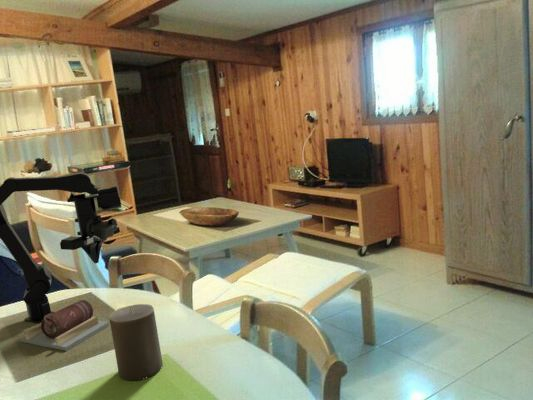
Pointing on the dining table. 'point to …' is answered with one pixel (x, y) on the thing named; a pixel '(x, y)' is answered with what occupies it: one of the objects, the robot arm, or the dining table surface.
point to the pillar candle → (136, 341)
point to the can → (66, 318)
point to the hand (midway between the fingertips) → (96, 263)
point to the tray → (65, 335)
